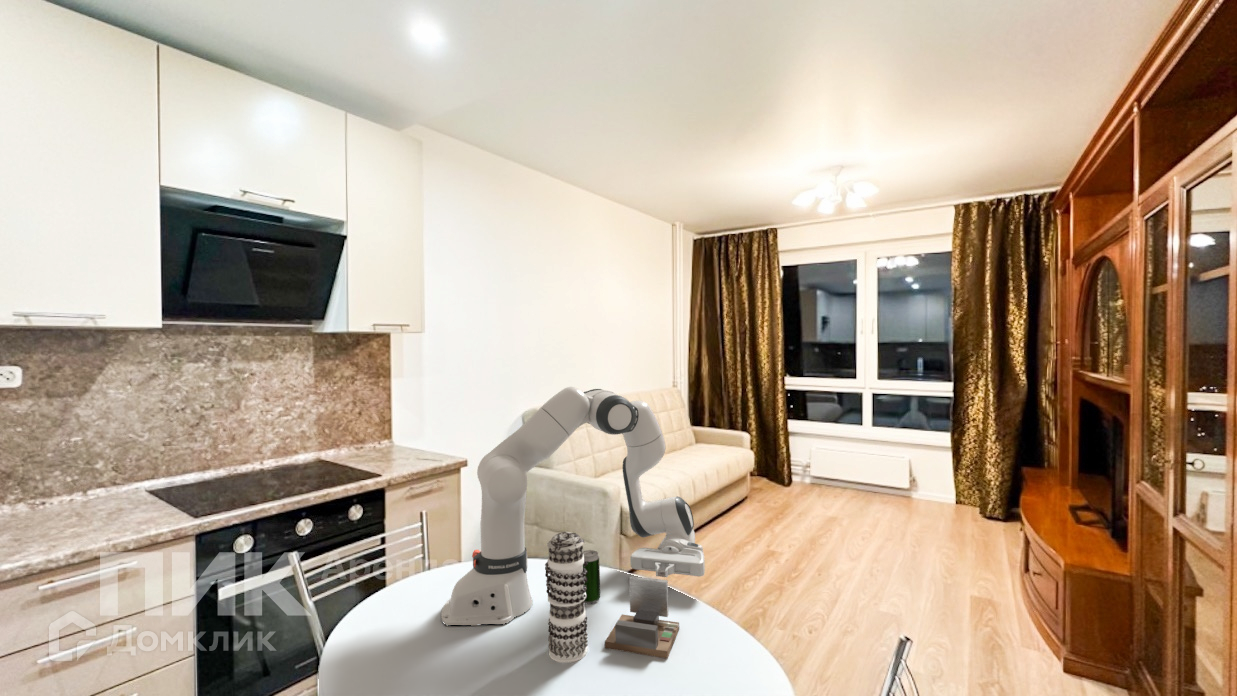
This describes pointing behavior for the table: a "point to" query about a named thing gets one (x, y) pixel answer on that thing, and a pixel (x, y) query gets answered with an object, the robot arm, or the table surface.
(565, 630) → the decorative candle
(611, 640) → the base
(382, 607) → the table surface
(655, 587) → the brushed metal plate
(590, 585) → the green soda can
